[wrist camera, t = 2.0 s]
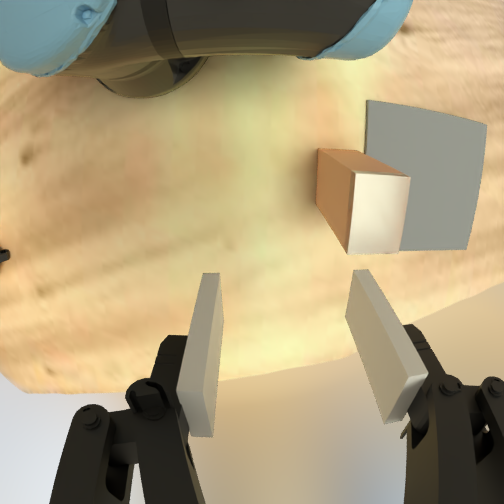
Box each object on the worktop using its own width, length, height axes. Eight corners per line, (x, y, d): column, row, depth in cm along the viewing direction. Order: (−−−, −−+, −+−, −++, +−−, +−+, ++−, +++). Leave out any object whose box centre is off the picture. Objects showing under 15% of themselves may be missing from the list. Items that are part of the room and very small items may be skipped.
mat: (366, 100, 32) (368, 100, 31) (484, 124, 32) (487, 124, 31) (354, 249, 41) (356, 251, 40) (464, 248, 41) (466, 249, 40)
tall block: (318, 148, 35) (355, 173, 22) (357, 150, 35) (410, 177, 22) (315, 203, 38) (347, 254, 26) (353, 204, 38) (398, 253, 26)
